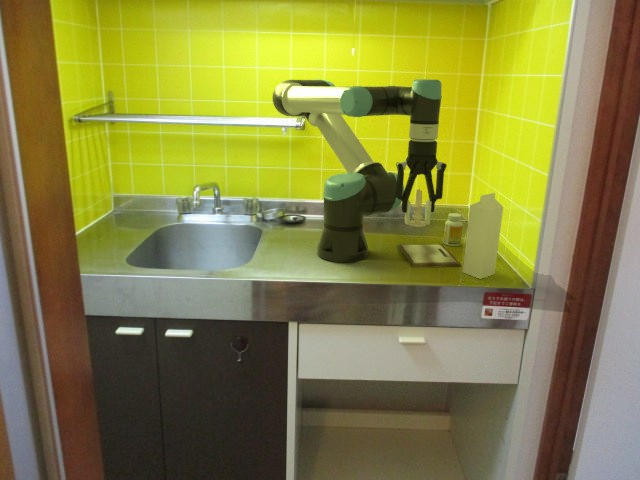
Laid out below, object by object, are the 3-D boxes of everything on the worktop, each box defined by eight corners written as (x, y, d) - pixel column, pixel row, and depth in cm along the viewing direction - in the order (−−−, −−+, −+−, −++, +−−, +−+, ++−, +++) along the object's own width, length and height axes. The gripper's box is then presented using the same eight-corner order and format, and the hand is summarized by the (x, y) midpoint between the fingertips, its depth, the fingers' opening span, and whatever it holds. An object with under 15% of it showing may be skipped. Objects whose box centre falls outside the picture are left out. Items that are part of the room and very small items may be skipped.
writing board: (411, 267, 138) (411, 263, 138) (397, 247, 154) (398, 243, 154) (460, 266, 139) (460, 262, 139) (441, 246, 155) (442, 243, 155)
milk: (494, 275, 133) (506, 195, 126) (480, 279, 130) (491, 198, 123) (475, 267, 138) (486, 190, 131) (461, 272, 135) (471, 193, 128)
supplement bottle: (439, 243, 158) (442, 214, 155) (450, 240, 161) (452, 211, 158) (453, 247, 154) (456, 218, 151) (464, 244, 157) (467, 215, 154)
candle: (424, 221, 142) (427, 186, 139) (427, 227, 137) (430, 190, 134) (406, 221, 142) (408, 185, 139) (408, 226, 137) (411, 189, 134)
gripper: (392, 141, 128) (387, 227, 135) (461, 141, 129) (452, 226, 137) (386, 138, 135) (382, 220, 143) (451, 138, 137) (444, 219, 144)
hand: (416, 223), depth 140 cm, fingers closed on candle, 5 cm apart
